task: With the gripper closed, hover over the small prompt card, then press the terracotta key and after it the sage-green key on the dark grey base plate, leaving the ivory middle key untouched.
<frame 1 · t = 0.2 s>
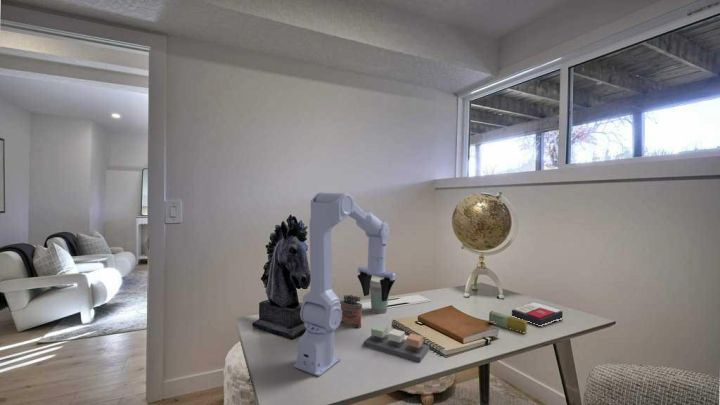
hand: (375, 297, 102), 10 cm above the table, tool pointing down, fingers open, 7 cm apart
prompt card: (405, 338, 95), on the table
white and crimson box: (536, 319, 116), on the table
coffee cup: (379, 311, 118), on the table
key ivory: (396, 335, 88), point 3 cm above the table, slide at 0.0 cm
dark grey base plate: (396, 347, 88), on the table
medication box: (507, 328, 106), on the table
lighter: (350, 325, 104), on the table
key sage: (379, 331, 91), point 4 cm above the table, slide at 0.0 cm
key terracotta: (414, 340, 86), point 4 cm above the table, slide at 0.0 cm
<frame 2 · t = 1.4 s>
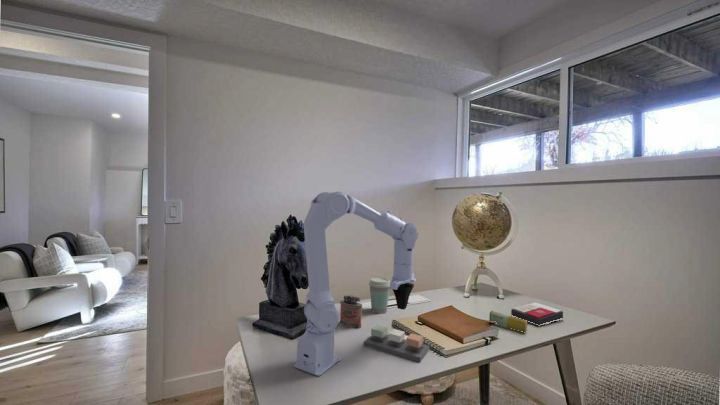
hand: (401, 308, 91), 10 cm above the table, tool pointing down, fingers closed
nothing on the table moved.
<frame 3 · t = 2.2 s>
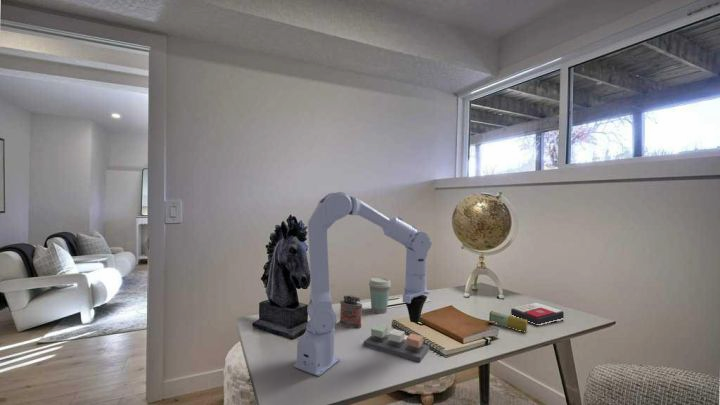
hand: (414, 321, 86), 9 cm above the table, tool pointing down, fingers closed
nothing on the table moved.
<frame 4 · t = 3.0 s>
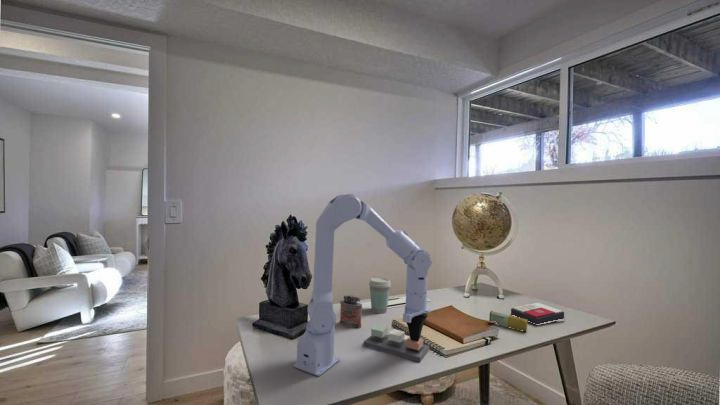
hand: (414, 339, 86), 4 cm above the table, tool pointing down, fingers closed, pressing on key terracotta
key terracotta: (414, 343, 86), point 3 cm above the table, slide at 0.7 cm, touching gripper
everything else where it was.
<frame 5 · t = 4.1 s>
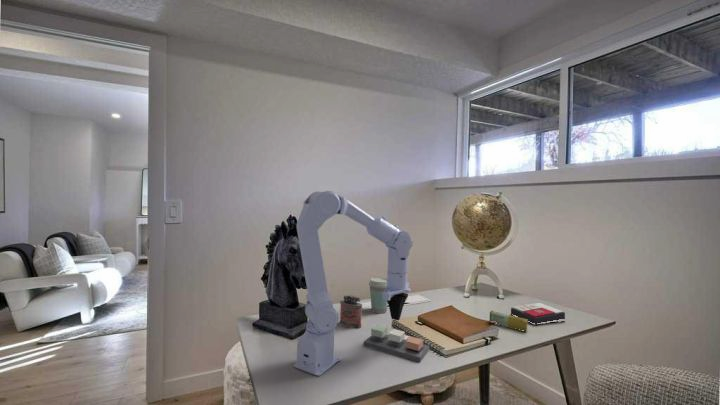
hand: (395, 318, 89), 8 cm above the table, tool pointing down, fingers closed
key terracotta: (414, 343, 86), point 3 cm above the table, slide at 0.9 cm
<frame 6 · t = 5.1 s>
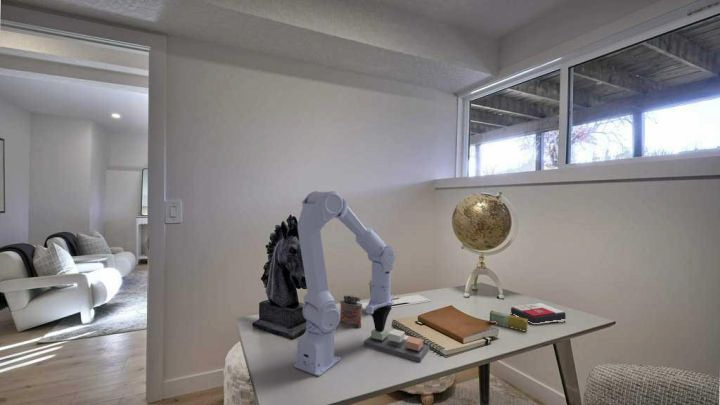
hand: (379, 330, 91), 4 cm above the table, tool pointing down, fingers closed, pressing on key sage
key sage: (379, 333, 91), point 3 cm above the table, slide at 0.7 cm, touching gripper
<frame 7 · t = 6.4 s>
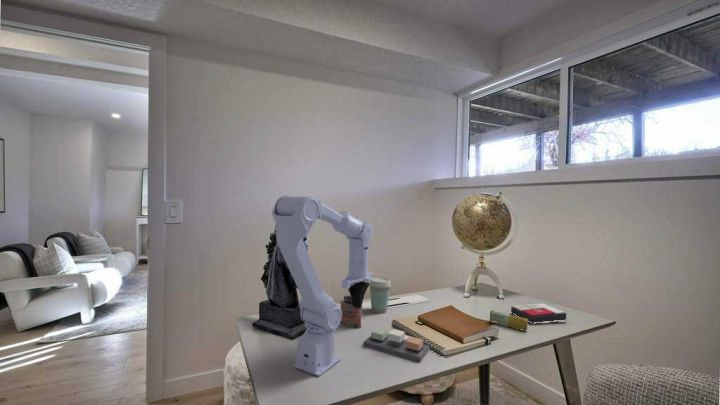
hand: (357, 307, 91), 10 cm above the table, tool pointing down, fingers closed
key sage: (379, 334, 91), point 3 cm above the table, slide at 0.9 cm
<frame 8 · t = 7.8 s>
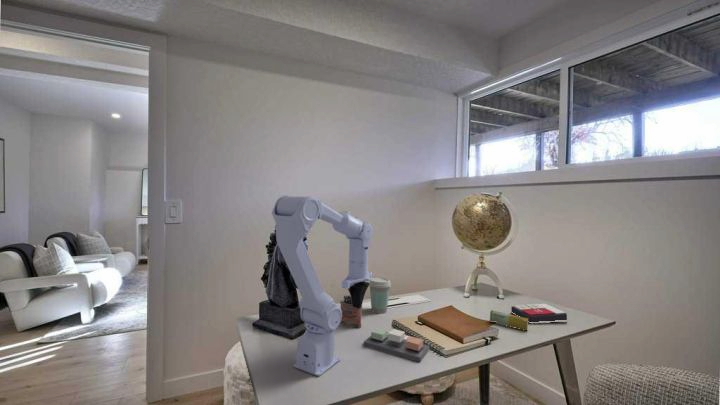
hand: (357, 307, 91), 10 cm above the table, tool pointing down, fingers closed
at the end: key terracotta slide at 0.9 cm; key sage slide at 0.9 cm; key ivory slide at 0.0 cm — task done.
